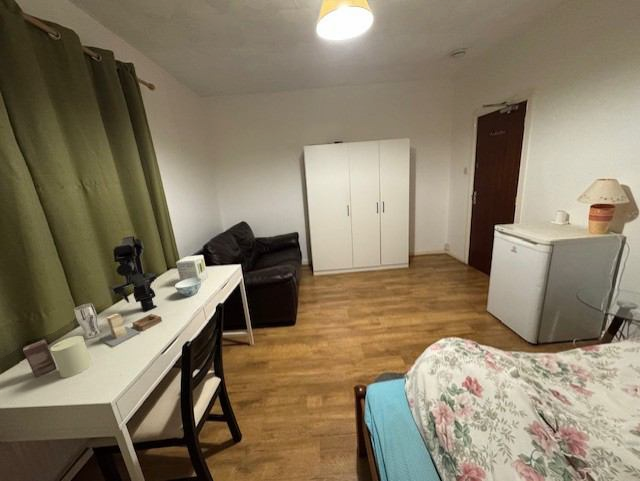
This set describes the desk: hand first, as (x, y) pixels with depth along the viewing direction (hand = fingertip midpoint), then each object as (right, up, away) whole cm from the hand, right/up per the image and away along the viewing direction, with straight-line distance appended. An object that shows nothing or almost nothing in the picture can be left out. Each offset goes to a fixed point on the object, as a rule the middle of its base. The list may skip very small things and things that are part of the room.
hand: (138, 298), depth 128 cm
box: (-15, -22, -29) cm, 40 cm away
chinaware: (+10, -4, +32) cm, 34 cm away
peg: (-2, -15, -10) cm, 18 cm away
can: (-3, -21, -30) cm, 36 cm away
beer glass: (-18, -16, -6) cm, 25 cm away
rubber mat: (-2, -16, -10) cm, 18 cm away
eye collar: (+5, -13, -1) cm, 14 cm away
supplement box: (+3, 0, +53) cm, 53 cm away
